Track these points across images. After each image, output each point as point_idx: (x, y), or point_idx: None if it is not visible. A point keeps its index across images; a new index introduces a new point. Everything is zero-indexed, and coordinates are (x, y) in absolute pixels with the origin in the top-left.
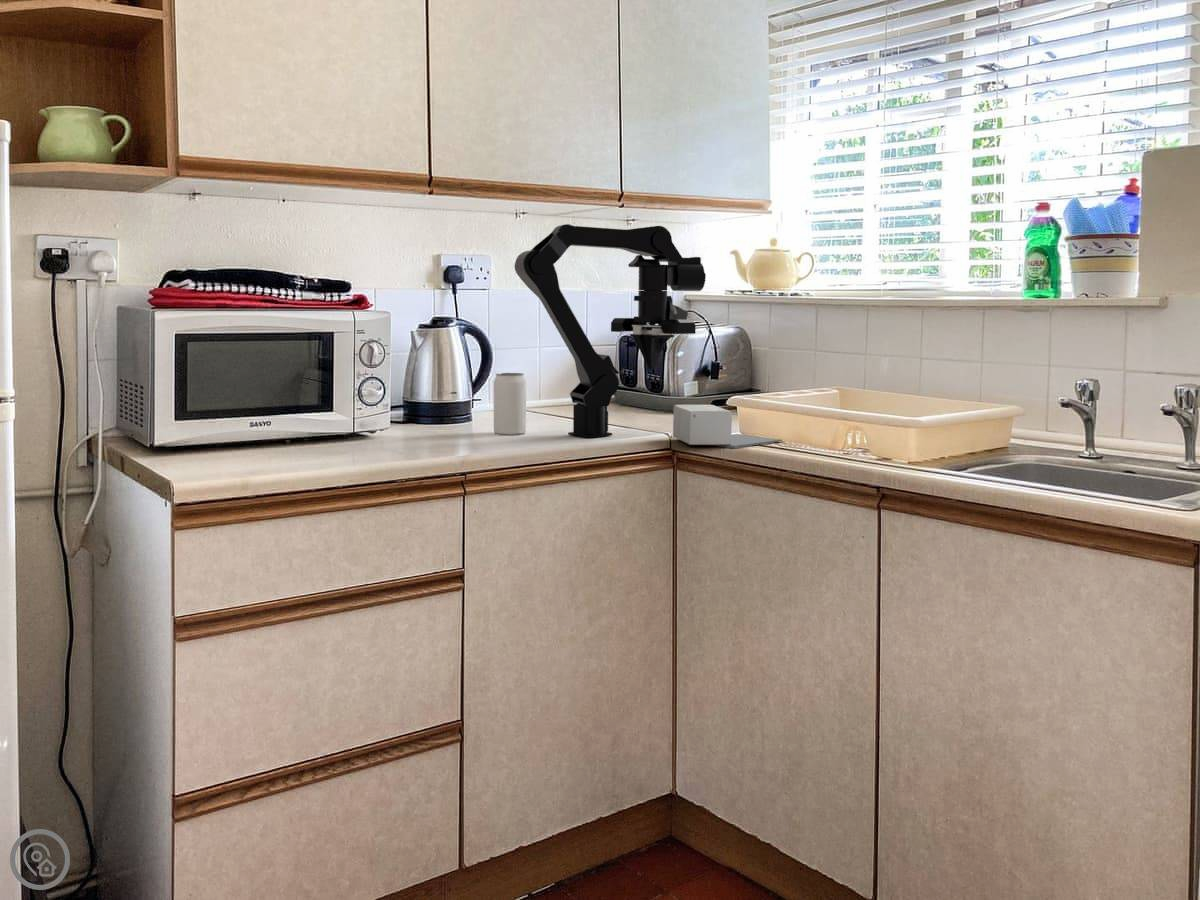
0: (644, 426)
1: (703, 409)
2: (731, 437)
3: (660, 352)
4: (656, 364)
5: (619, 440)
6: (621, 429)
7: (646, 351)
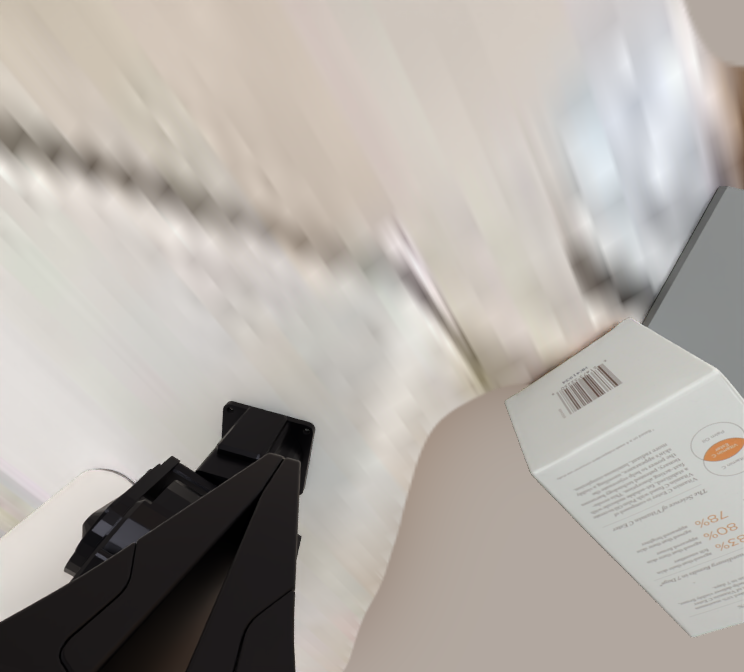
0: (217, 125)
1: (731, 578)
2: (721, 309)
3: (292, 601)
4: (299, 485)
5: (381, 479)
6: (225, 270)
7: (184, 665)
